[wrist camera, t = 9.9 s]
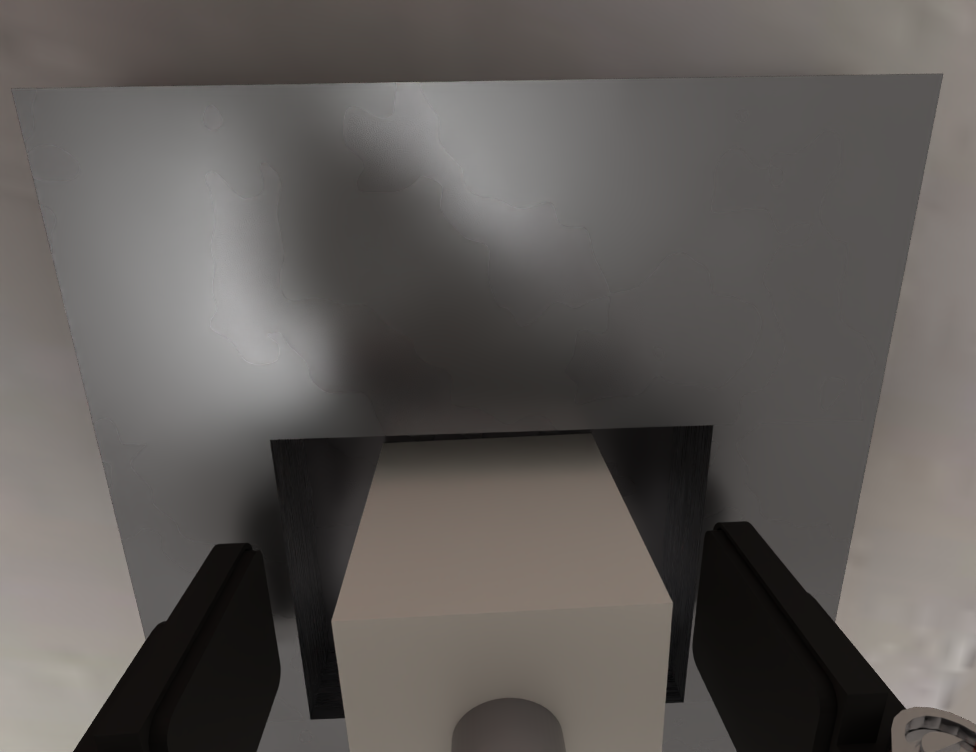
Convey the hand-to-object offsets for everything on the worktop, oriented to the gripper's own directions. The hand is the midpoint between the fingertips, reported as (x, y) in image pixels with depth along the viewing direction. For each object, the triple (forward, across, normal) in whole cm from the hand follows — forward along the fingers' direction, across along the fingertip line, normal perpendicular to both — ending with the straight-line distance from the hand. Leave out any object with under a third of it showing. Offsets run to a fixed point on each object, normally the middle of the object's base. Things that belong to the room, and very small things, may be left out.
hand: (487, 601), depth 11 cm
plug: (+3, 0, 0) cm, 3 cm away
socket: (+3, 0, 0) cm, 3 cm away
